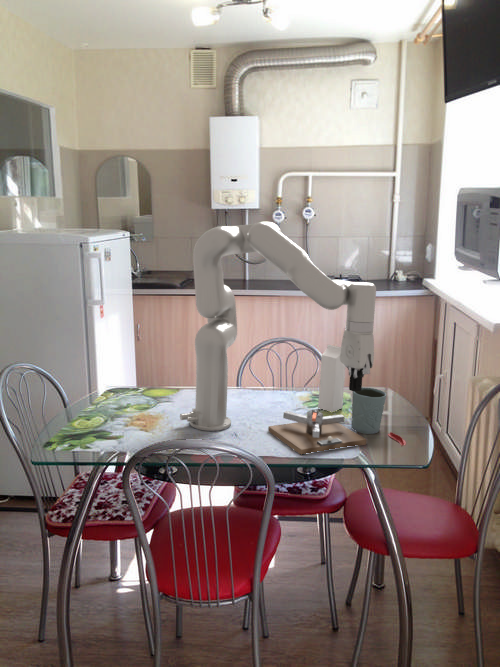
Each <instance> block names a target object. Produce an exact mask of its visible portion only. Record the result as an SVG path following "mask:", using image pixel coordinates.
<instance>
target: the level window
mask: <svg viewBox="0 0 500 667" xmlns="http://www.w3.org/2000/svg"><path fill="white" fill-rule="evenodd" d="M340 443H342V440H340V439H338V438H335V439H332V441H328V440H322V441H317V444H319V445H320V446H327V445H334V444H340Z"/></svg>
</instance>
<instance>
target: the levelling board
mask: <svg viewBox="0 0 500 667" xmlns="http://www.w3.org/2000/svg"><path fill="white" fill-rule="evenodd" d="M267 431H268V432H269V433H270V434H271V435H272V436H274V437H276V438H277V439H278V440H279V439H280V441H281V442H282V443H284V445H286V444H287V445H286V446H288V447H289V448H291V449H292V450H293V449H294V450H293V451H294V452H296V453H297V452H298V453H297V454H299V455H300V454H301V455H300V456H303V455H302V454H305V455H307V454H306V453H311V452H317V451H323V452H325V451H324V450H329V449H335V448H340V447H347V446H354V447H356V446H355V445H358V446H357V447H359V446H360V447H361V446H366V445H367V441H368V440H367V438H365V437H364V436H362V435H360V434H358V432H356V431H354V430H352V429H349V428H348V427H347V426H344V425H343V424H341V423H334V424H327V425H322V433H321V434H319V438H316V437H313V436H312V434H309V433H307V432H306V424H304V423H300V422H291V423H283V424H275V425H270V426H268V428H267ZM329 436H331V437H332V439H335V438H338V439H340V440H342V443H340V444H334V445H327V446H320V445H319V444H317V441H322V440H328V439H327V438H328V437H329ZM335 450H336V449H335ZM329 451H330V450H329ZM317 453H318V452H317ZM311 454H312V453H311Z"/></svg>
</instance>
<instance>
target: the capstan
mask: <svg viewBox="0 0 500 667" xmlns="http://www.w3.org/2000/svg"><path fill="white" fill-rule="evenodd" d="M282 419H285V420H289V421H293V422H295V423H297V422H300V423H304V424H306V432H307V433H309V434H312V436H313V437H316V438H319V434H321V433H322V425H327V424H334V423H339V424H341V423H345V420H346V419H345V415H343V414H333V415H327V416H324V413H323V412H320V410H319V409H312V410H311V411H308V412H307V413H306V415H304V414H301V413H300V414H299V413H296V412H292V411H288V410H286V411H284V412H283V417H282Z"/></svg>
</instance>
